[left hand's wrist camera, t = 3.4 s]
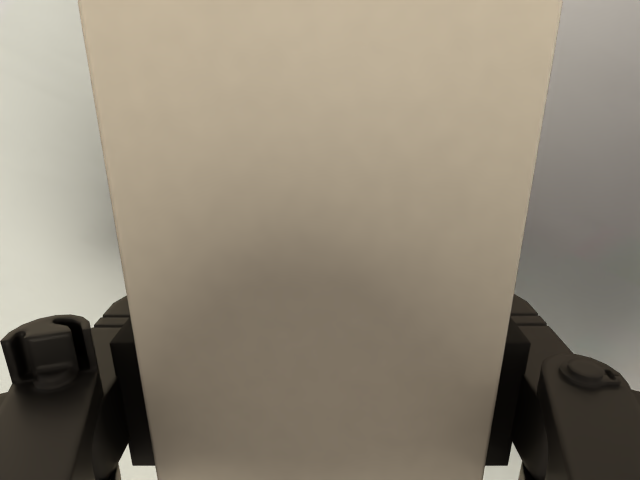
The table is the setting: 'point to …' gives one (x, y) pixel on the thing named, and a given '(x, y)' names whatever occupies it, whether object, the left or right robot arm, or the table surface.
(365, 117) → the bar
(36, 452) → the left robot arm
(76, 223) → the table surface
